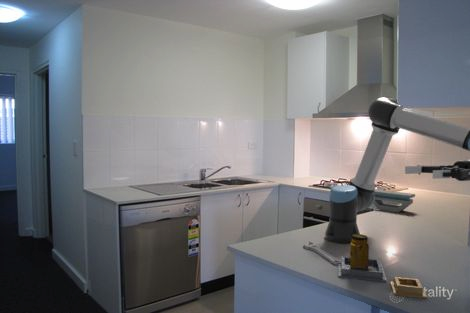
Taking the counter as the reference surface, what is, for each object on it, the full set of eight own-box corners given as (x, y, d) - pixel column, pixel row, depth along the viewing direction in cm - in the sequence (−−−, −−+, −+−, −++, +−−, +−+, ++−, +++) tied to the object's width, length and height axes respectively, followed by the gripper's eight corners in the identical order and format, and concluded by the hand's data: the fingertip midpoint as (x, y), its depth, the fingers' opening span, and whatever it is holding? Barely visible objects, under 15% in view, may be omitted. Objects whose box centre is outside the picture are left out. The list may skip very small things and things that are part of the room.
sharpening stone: (367, 207, 233) (368, 190, 233) (373, 206, 239) (373, 189, 238) (409, 214, 216) (410, 195, 215) (414, 212, 221) (415, 194, 220)
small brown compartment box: (390, 283, 120) (390, 275, 120) (420, 286, 118) (421, 278, 118) (393, 295, 112) (394, 286, 112) (427, 298, 109) (427, 290, 109)
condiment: (347, 265, 134) (348, 232, 133) (372, 267, 133) (373, 233, 132) (350, 273, 127) (351, 238, 126) (376, 275, 125) (377, 239, 124)
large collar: (338, 261, 140) (338, 254, 139) (381, 265, 136) (381, 258, 135) (338, 277, 125) (338, 269, 125) (386, 282, 121) (386, 274, 121)
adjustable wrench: (342, 266, 136) (342, 261, 136) (325, 267, 135) (325, 263, 135) (315, 245, 161) (315, 240, 161) (300, 245, 160) (301, 241, 159)
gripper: (499, 185, 126) (446, 188, 121) (441, 176, 150) (395, 178, 145) (500, 163, 125) (447, 165, 120) (442, 157, 149) (395, 158, 144)
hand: (418, 172), depth 132 cm, fingers open, 13 cm apart
